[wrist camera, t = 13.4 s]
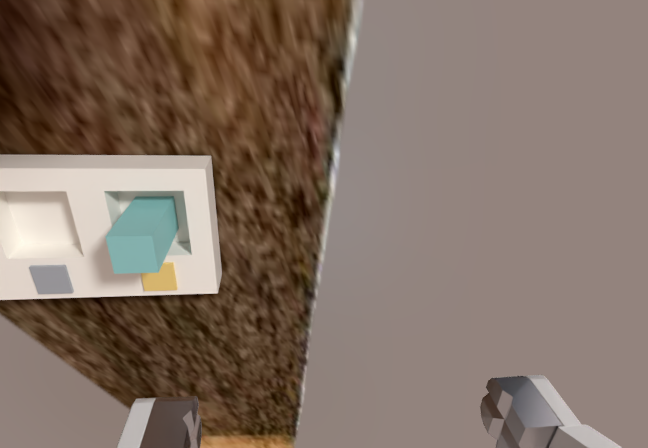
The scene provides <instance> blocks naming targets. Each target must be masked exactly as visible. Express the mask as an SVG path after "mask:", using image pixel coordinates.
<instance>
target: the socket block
mask: <svg viewBox="0 0 648 448" xmlns="http://www.w3.org/2000/svg"><path fill="white" fill-rule="evenodd" d="M136 196H174V200H175V207H176V214H177V221H178V228H179V229H178V231H177V233H176V235H175V238H174V240H173V242H172V244H171V247H170V249H169V251H168V253H167V255H166V258H165V260H164V262H163V264H162V266H161V269H160V271H159V273H124V274H114V271H113V266H112V262H111V258H110V254H109V250H108V246H107V242H106V237H105V236H106V235H107V234H108V232H109V231H110V230H111V228H112V227H113V226H114V224H115V223H116V222H117V220H118V219H119V218H120V216H121V215H122V214H123V213H124V211H125V210H126V209H127V207H128V206H129V205H130V203H131V202H132V201H133V199H134V198H135V197H136ZM221 275H222V269H221V258H220V247H219V236H218V225H217V215H216V204H215V193H214V182H213V171H212V160H211V156H159V155H0V300H16V299H49V298H81V297H114V296H146V295H179V294H211V293H218V290H219V285H220V280H221Z"/></svg>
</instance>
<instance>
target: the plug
mask: <svg viewBox="0 0 648 448" xmlns="http://www.w3.org/2000/svg"><path fill="white" fill-rule="evenodd" d="M178 229H179V228H178V221H177V214H176V207H175V200H174V196H136V197H135V198H134V199H133V201H132V202H131V203H130V205H129V206H128V207H127V209H126V210H125V211H124V213H123V214H122V215H121V216H120V218H119V219H118V220H117V222H116V223H115V224H114V226H113V227H112V228H111V230H110V231H109V232H108V234H107V235H106V236H105V237H106V242H107V246H108V250H109V254H110V258H111V262H112V266H113V271H114V274H124V273H159V271H160V269H161V266H162V264H163V262H164V260H165V258H166V255H167V253H168V251H169V249H170V247H171V244H172V242H173V240H174V238H175V235H176V233H177V231H178Z"/></svg>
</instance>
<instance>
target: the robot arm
mask: <svg viewBox="0 0 648 448" xmlns="http://www.w3.org/2000/svg"><path fill="white" fill-rule="evenodd" d="M486 388H487V390H488V392H489V393H488V394H487V395H486V396H485V397H483V399H482V403H481V417H482V420H483V424H484V426H485V428H486V430H487V432H488V434H490V435H491V436H492V437H494V438H495V439H496V440H497V444H496V448H622V447H620V446H619V445H617V444H616V443H614V442H613V441H611V440H610V439H608V438H606V437H605V436H603V435H602V434H600V433H599V432H597V431H596V430H594V429H593V428H591V427H589V426H588V425H581V423H580V422H579V421H578V419H577V418H576V417H575V415H574V414H573V413H572V411H571V410H570V409H569V407H568V406H567V405H566V403H565V402H564V401H563V399H562V398H561V397H560V395H559V394H558V393H557V391H556V390H555V389H554V387H553V386H552V385H551V383H550V382H549V381H548V379H547V378H546V377H544V376H543V375H534V376H513V377H501V378H491V379H490V380H489V381H488V383H487V386H486ZM198 406H199V405H198V400H197V397H196V396H192V397H162V398H141V399H136V400H135V402H134V403H133V405H132V407H131V410H130V413H129V415H128V418H127V421H126V423H125V426H124V429H123V431H122V434H121V437H120V440H119V442H118V445H117V448H200V444H201V432H202V431H201V418H200V416H199V415H198V414H197V411H198Z"/></svg>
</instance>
